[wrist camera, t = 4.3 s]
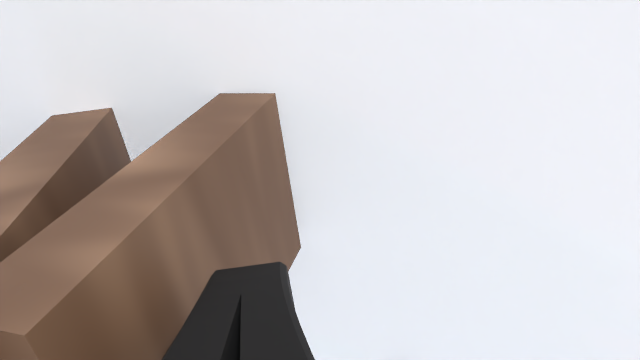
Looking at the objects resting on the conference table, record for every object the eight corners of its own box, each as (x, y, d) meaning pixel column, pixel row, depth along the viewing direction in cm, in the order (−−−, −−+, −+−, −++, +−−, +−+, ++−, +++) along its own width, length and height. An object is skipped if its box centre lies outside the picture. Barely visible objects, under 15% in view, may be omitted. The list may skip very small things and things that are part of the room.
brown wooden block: (275, 93, 12) (24, 335, 6) (300, 247, 15) (148, 537, 8) (219, 93, 13) (-70, 315, 6) (253, 242, 15) (74, 512, 9)
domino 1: (111, 107, 13) (-100, 350, 6) (163, 254, 15) (62, 548, 8) (52, 115, 13) (-234, 368, 6) (113, 261, 15) (-30, 560, 8)
